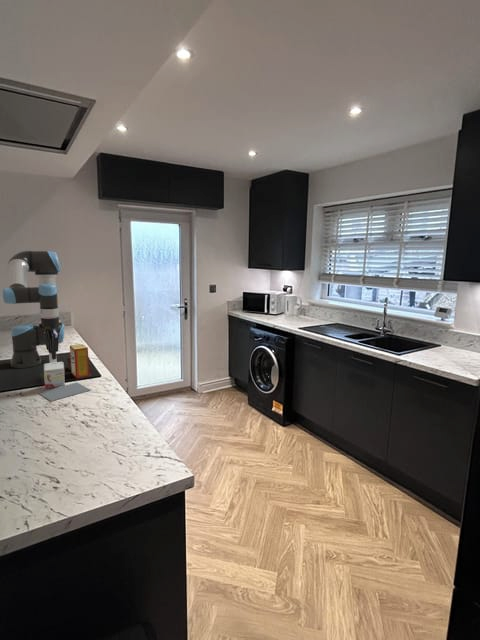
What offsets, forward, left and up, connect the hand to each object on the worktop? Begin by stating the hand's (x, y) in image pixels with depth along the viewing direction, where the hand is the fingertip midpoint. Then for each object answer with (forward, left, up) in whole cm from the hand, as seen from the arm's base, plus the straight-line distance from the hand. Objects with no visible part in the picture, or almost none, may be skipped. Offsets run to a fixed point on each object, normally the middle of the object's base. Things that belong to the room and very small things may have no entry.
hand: (53, 365), depth 170 cm
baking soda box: (-8, +16, -11) cm, 21 cm away
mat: (+10, 0, -11) cm, 15 cm away
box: (-19, +19, -11) cm, 29 cm away
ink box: (0, 0, -10) cm, 10 cm away
